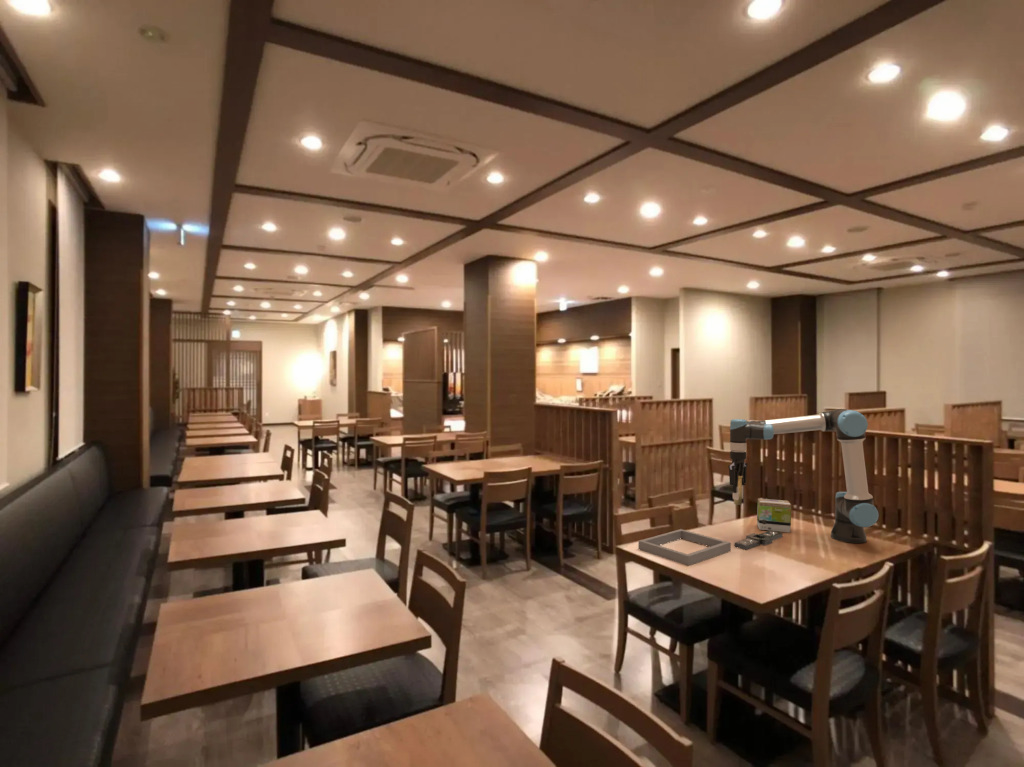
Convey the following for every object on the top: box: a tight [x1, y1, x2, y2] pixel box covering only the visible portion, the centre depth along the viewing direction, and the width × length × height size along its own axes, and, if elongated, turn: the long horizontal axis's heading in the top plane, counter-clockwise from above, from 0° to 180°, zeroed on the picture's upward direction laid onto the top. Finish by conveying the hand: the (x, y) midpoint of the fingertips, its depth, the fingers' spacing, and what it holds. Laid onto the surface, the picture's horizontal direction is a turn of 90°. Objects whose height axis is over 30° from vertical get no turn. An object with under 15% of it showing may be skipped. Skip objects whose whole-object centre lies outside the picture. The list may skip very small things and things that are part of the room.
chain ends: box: [733, 530, 784, 551], centre depth 272 cm, size 9×33×2 cm, turn 128°
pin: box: [733, 475, 743, 506], centre depth 275 cm, size 4×4×14 cm
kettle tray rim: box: [637, 528, 732, 566], centre depth 259 cm, size 27×32×4 cm
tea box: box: [756, 498, 792, 534], centre depth 294 cm, size 15×10×15 cm, turn 73°
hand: (737, 498), depth 275 cm, fingers closed on pin, 3 cm apart
